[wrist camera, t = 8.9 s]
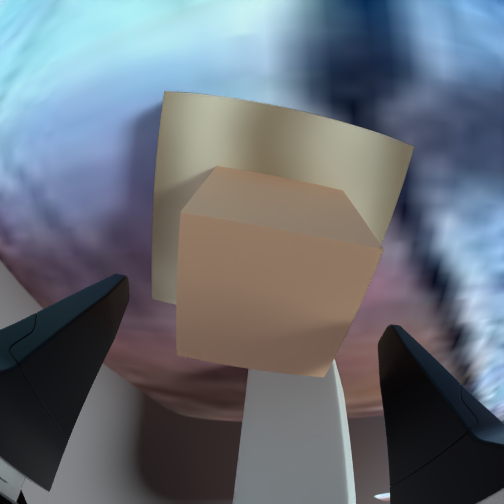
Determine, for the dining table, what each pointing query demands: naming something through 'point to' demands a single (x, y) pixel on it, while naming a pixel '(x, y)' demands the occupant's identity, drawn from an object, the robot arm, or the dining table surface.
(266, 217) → the tan cube
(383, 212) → the birch block
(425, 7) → the dining table surface
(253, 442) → the milk carton
